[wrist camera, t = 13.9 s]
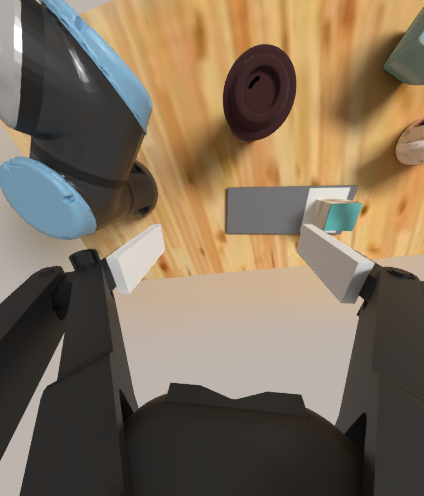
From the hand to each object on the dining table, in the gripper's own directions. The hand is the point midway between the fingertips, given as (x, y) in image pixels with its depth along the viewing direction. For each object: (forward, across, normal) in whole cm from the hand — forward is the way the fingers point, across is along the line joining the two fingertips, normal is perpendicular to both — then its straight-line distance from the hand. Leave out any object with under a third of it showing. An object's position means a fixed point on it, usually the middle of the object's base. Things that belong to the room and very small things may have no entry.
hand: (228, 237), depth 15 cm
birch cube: (+22, +25, -4) cm, 33 cm away
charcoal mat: (+29, +15, -4) cm, 33 cm away
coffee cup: (+29, +4, +15) cm, 33 cm away
